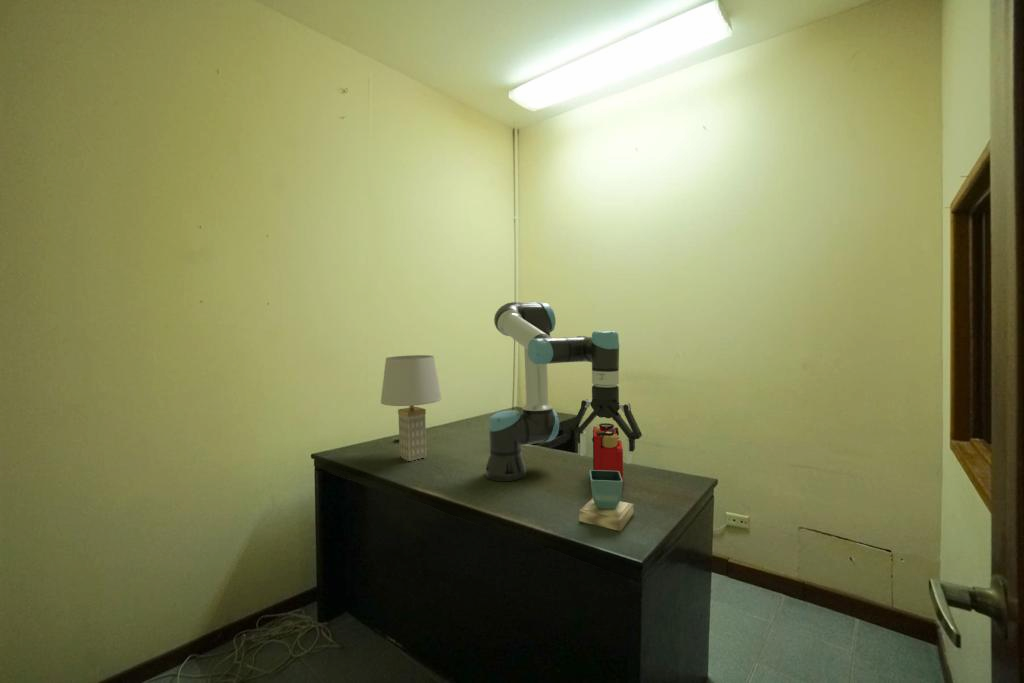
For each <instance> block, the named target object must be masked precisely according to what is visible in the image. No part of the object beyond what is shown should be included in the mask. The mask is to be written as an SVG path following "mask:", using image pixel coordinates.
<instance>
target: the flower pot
mask: <svg viewBox="0 0 1024 683" xmlns="http://www.w3.org/2000/svg"><path fill="white" fill-rule="evenodd" d="M589 479H590V487H591V495H592V498H593V500H594V503H595V505H596V507H597V508H599V509H616V507H617V506H618V504H619V502H620V501H621V499H622V492H623V485H624V479H623V480H622V478H621V475H620V472H619V471H604V470H593V469H590V470H589Z"/></svg>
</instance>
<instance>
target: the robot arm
mask: <svg viewBox="0 0 1024 683" xmlns="http://www.w3.org/2000/svg"><path fill="white" fill-rule="evenodd" d="M555 314H556V313H555V312H554V309H553V307H552V306H551V305H550V304H549V303H547V302H542V301H541V302H540V301H536V302H535V301H534V302H533V301H529V302H528V301H527V302H525V301H523V302H517V301H516V302H515V301H513V302H512V301H511V302H507V303H504V304H503V305H502V306H500V307H499V308H498V309H497V310H496V312H495V314H494V318H493V320H494V321H493V322H494V326H495V328H496V330H498V332H499V333H500V334H502V335H503V336H507V337H511V338H512V339H513V340H514V341H515V342H517V344H519V345H521V346H522V347H523V349H524V351H523V352H524V380H525V405H523V407H522V413H520V411H519V410H517V409H516V410H515V409H513V410H512V409H511V410H503V411H498V412H496V413H494V414H492V415H491V416H490V417H489V426H488V431H489V432H488V433H489V456H488V461H487V464H486V467H485V476H486V478H488V479H489V480H491V481H495V482H512V481H513V482H514V481H517V480H518V481H519V480H521V479H523V478H525V477H526V475H527V469H526V465H525V462H524V459H523V455H522V452H521V451H522V449H521V448H522V446H524V445H531V444H540V443H542V444H543V443H546V442H551V441H553V440H555V439H556V437H557V436H558V434H559V430H560V429H559V428H560V419H559V416H558V413H557V412H556V411H555V410H554V409H553V406H552V405H551V404H550V403H549V386H548V385H549V384H548V383H549V382H548V380H549V379H548V364H560V363H561V364H563V363H577V362H578V363H579V362H580V363H581V362H582V363H583V362H585V363H586V362H587V363H591V383H592V387H591V400H589V399H588V398H585V399H583V400H581V404H580V409H579V410H578V412H577V415H576V417H575V418H574V420H573V423H572V425H571V427H570V429H571V430H572V431H575V432H576V433H577V434H576V435H577V439H576V440H577V441H576V442H577V444H579V452H580V453H579V455H580V456H582V457H583V456H585V455H586V454H587V431H585V430H586V428H587V427H588V426H589V425H590V424H591V423H592V421H594V420H595V418H596V417H598V418H601V419H602V418H604V419H612V420H613V421H614V422H615V423H616V425H617V426H618V428H620V429H621V431H622V432H623V433H624V435H625V436H626V437H627V438H626V440H625V464H627V465H628V464H631V462H632V461H633V460H632V456H633V454H632V452H634V451H635V449H636V440H638V439H640V438H641V437H643V434H642V432H641V430H640V426H639V425H638V423H637V421H636V419H635V416H634V415H633V412H632V408H631V404H630V402H629V403H628V402H627V403H620V400H619V399H620V394H619V393H620V387H619V386H618V385H619V384H620V382H619V381H620V380H619V378H620V376H619V375H620V370H619V366H620V340H619V333H618V332H617V331H615V330H595V331H592V333H591V336H586V335H585V336H584V335H578V336H574V337H573V336H571V337H569V336H568V337H567V336H566V337H552V336H551V333H552V332H553V331H554V330H555V326H556V315H555ZM588 408H592V410H593V411H592V412H591V413H590V414H589V415H588V417H587V418H586V419H585V420H584V421H583V422H582V420H583V417H584V416H585V414H586V412H587V411H588ZM619 410H621V412H623V413H624V416H625V419H626V420H627V423H628V424H627V423H626V421H625V420H624V419H623V417H622V415H621V414H620V412H619ZM581 422H582V423H581ZM580 424H581V425H580Z"/></svg>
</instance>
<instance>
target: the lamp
mask: <svg viewBox="0 0 1024 683" xmlns="http://www.w3.org/2000/svg"><path fill="white" fill-rule="evenodd" d="M382 379H383V380H382V388H381V396H380V404H381V405H384V406H389V407H390V406H391V407H403V408H398V409H397V414H398V441H399V457H400V456H401V457H403V458H405V459H407V460H413V459H418V458H422V457H426V458H427V431H426V430H427V428H426V427H427V426H426V424H427V423H426V414H427V413H426V408H423V407H420V406H421V405H424V406H425V405H429V404H430V405H431V404H434V403H438V402H441V400H442V395H441V390H440V384H439V378H438V374H437V367H436V361H435V356H434V355H431V354H427V355H426V354H419V355H418V354H415V355H410V354H409V355H395V356H387V357H385V363H384V372H383V378H382ZM405 406H406V407H405ZM418 406H419V407H418Z"/></svg>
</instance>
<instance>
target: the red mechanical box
mask: <svg viewBox="0 0 1024 683" xmlns="http://www.w3.org/2000/svg"><path fill="white" fill-rule="evenodd" d="M619 439H620V430H619V426H618V427H617V426H615V424H613V423H609V422H607V423H605V422H603V423H602V422H601V423H599V424H598V425H595V426H593V430H592V438H591V440H592V455H593V456H592V460H593V461H592V463H593V468H592V470H604V471H619V472H620V475H621V478H622V480H623V481H624V450H623V448H624V447H623V445H622V444H623V443H622V440H619Z"/></svg>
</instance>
